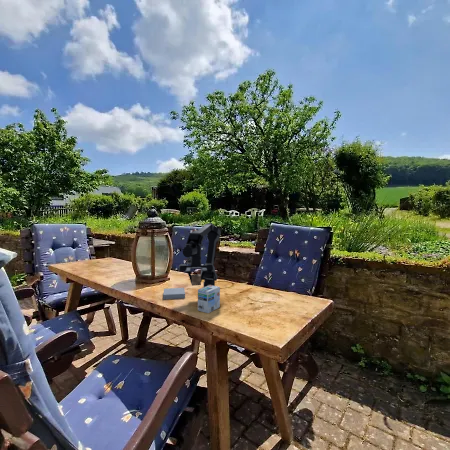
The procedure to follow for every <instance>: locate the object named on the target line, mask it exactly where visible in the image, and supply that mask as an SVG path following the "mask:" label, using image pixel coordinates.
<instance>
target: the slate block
mask: <svg viewBox="0 0 450 450" xmlns="http://www.w3.org/2000/svg"><path fill="white" fill-rule="evenodd" d="M162 295H163V300H174V299H186V291H185V287H174V288H173V287H171V288H163V294H162Z"/></svg>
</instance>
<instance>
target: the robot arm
mask: <svg viewBox="0 0 450 450" xmlns="http://www.w3.org/2000/svg"><path fill="white" fill-rule="evenodd" d="M221 234H222V232H221V230H220V228H219V227H218V226H216V225H215V224H213V223H205V224H204V225H203V226H202V227H201V228H200V229H198V230H195V231H191V232H190V233H189V235H188V237H187V240H186V242H185V247H183V250H182V254H183V256H184V257H185V258H187V264H190V265H187V264H186V263H181V264H179V265H178V270H179V272H184V273H187V275H188V278H189V280H190V284H191V283H192V279H191V275H192V272H191V270H197V269H198V270H199V269H200V275H201V282H202V281H203V283H202V284H203V287H206V286H208V285H213V286H216V281H217V280H218V274H217V273H216V267H215V266H214V264H215V263H214V261H215V255H216V246H217V242H218V241H219V240H220V237H221ZM205 237H206V238H207V240H208V245H207V252H206V260H205V264H202V246H203V244H202V243H203V242H204V239H205ZM203 287H202V288H203Z"/></svg>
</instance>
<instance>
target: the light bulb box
mask: <svg viewBox="0 0 450 450" xmlns="http://www.w3.org/2000/svg"><path fill="white" fill-rule="evenodd" d="M220 292H221V287H220V286H219V285H218V286H217V285H215V286H213V285H208V286H206V287H201V288H199V289H197V311H199V312H201V313H205V314H210V313H212V312H213V311H216V310H217V309H219V308H220V307H221V306H220V305H221V304H220V303H221V301H220V299H221V298H220V297H221V293H220Z"/></svg>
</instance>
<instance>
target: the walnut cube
mask: <svg viewBox="0 0 450 450" xmlns="http://www.w3.org/2000/svg"><path fill="white" fill-rule="evenodd" d="M191 279H192V283H191V282H190V285H191V286H192V287H193V286H201V285H202V281H201V273H198V274H196V273H195V274H192V273H191Z"/></svg>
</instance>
